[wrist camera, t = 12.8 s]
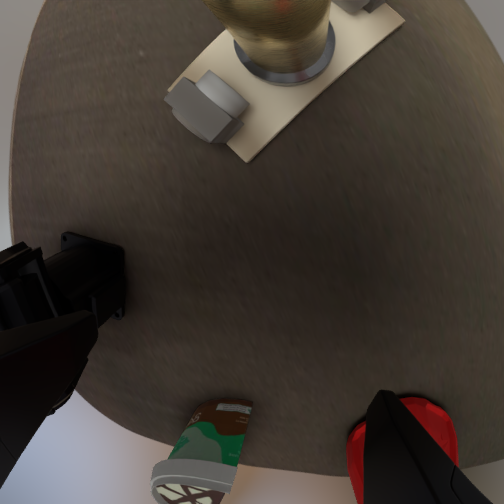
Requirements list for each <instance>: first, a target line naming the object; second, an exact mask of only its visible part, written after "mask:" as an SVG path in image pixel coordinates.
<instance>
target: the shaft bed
mask: <svg viewBox="0 0 504 504" xmlns="http://www.w3.org/2000/svg"><path fill="white" fill-rule="evenodd" d="M385 2H386V0H331V6H330V15H329V21H330V22H331V24H332V26H333V29H334V32H335V40H336V44H335V50H334V54H333V58H332V61H331V63H330V64H329V66H328V68H327V69H326V70H325V71H324V72H323V73H322V74H321V75H320V76H319V77H317V78H316V79H314V80H313V81H310V82H308V83H306V84H302V85H298V86H291V87H282V86H275V85H271V84H268V83H266V82H263V81H261V80H259V79H258V78H256V77H255V76H253V75H252V74H251V73H250V72H249V71H248V70H247V69H246V68H245V66H244V65H243V64H242V63H241V62H240V60H239V58H238V57H237V54H236V52H235V48H234V38H233V37H232V36H231V34H230V33H229V32H228V31H227V29H226V30H225V31H223V32H222V33H221V34H220V35H219V36H218V37H217V38H216V39H215V40H214V41H213V42H212V43H211V44H210V45H209V46H208V47H207V48H206V49H205V50H204V51H203V52H202V53H201V54H200V55H199V56H198V57H197V58H196V59H195V60H194V61H193V62H192V63H191V64H190V66H189V67H188V68H187V69H186V70H185V71H184V72H183V73H182V74H181V75H180V76H179V78H178V79H177V80H176V81H175V82H174V83H173V84H172V86H171V87H170V88H169V89H168V91H169V93H168V95H167V96H166V97H165V98H164V100H165V101H166V102H167V103H168V104H169V105H171V106H172V107H173V110H172V113H173V114H174V116H175V117H176V118H177V119H178V120H179V121H180V122H181V123H182V124H183V125H184V126H185V127H186V128H187V129H188V130H190V131H191V132H192V133H194V134H195V135H196V136H198V137H199V138H201V139H202V140H204V141H206V142H208V143H226V144H227V145H228V146H229V147H230V148H231V149H232V150H233V151H234V152H235V153H236V154H237V155H239V156H240V157H241V158H242V159H243V160H244V161H245V162H246V163H249V162H250V161H251V160H252V159H253V158H254V157H255V156H256V155H257V154H258V153H259V152H260V151H261V150H262V149H263V148H264V147H265V146H266V145H267V144H268V143H269V142H270V141H271V140H272V139H273V138H274V137H275V136H276V135H277V134H278V133H279V132H280V131H281V130H282V129H283V128H284V127H286V126H287V125H288V124H289V123H290V122H291V121H292V120H293V119H294V118H295V117H296V116H297V115H298V114H299V113H300V112H301V111H302V110H304V109H305V108H306V107H307V106H308V105H309V104H310V103H311V102H312V101H313V100H314V99H315V98H317V97H318V96H319V95H320V94H321V93H322V92H323V91H324V90H325V89H326V88H328V87H329V86H330V85H331V84H332V83H333V82H334V81H335V80H337V79H338V78H339V77H340V76H341V75H342V74H343V73H345V72H346V71H347V70H348V69H349V68H350V67H352V66H353V65H354V64H355V63H356V62H357V61H359V60H360V59H361V58H362V57H363V56H364V55H366V54H367V53H368V52H369V51H370V50H372V49H373V48H374V47H375V46H376V45H378V44H379V43H380V42H381V41H383V40H384V39H385V38H386V37H388V36H389V35H390V34H391V33H393V32H394V31H395V30H396V29H398V28H399V27H400V26H401V25H403V23H404V22H405V20H404V19H403V18H402V17H401V16H400V15H399V14H398V13H397V12H395V11H394V10H393V9H392V8H391V7H390V6H389V5H387V4H386V3H385Z"/></svg>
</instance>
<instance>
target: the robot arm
mask: <svg viewBox="0 0 504 504" xmlns="http://www.w3.org/2000/svg"><path fill="white" fill-rule="evenodd" d="M66 238H67V239H66ZM116 251H117V253H118V255H117V254H116ZM42 255H43V253H42V250H41V247H37V248H34V249H32V248H30V247H28V246H27V245H26V244H25V243H24V242H20V243H18V244H15V245H13V246H11V247H9V248H7V249H5V250H3V251H1V252H0V489H1V487H2V485H3V484H4V482H5V480H6V479H7V477H8V475H9V473H10V472H11V470H12V469H13V467H14V466H15V464H16V462H17V460H18V459H19V457H20V456H21V454H22V453H23V451H24V449H25V448H26V446H27V445H28V443H29V442H30V440H31V439H32V437H33V436H34V434H35V433H36V431H37V430H38V428H39V427H40V425H41V424H42V422H43V421H44V420H45V418H46V417H47V416H49V415H52V414H54V413H55V410H57V409H59V408H60V407H62V406H63V405H64V404H65V403H66V402H67V401H68V400H69V399H70V397H71V395H72V393H73V391H74V389H75V387H76V385H77V383H78V380H79V378H80V376H81V374H82V372H83V370H84V368H85V366H86V364H87V362H88V358H87V356H88V354H89V353H90V351H91V349H92V348H93V346H94V344H95V343H96V341H97V338H98V328H99V327H100V326H101V325H102V324H104V323H105V322H106V321H107V320H108V319H109V318H110V317H111V318H114V319H117V320H121V319H122V318H123V317H124V304H125V289H124V275H123V255H124V254H123V250H122V248H121V247H119V246H116V245H113V244H109V243H106V242H102V241H98V240H95V239H91V238H88V237H84V236H81V235H77V234H74V233H71V232H64V233H62V234H61V252H59V253H57V254H55V255H53V256H51V257H49V258H48V259H46V260H43V257H42ZM118 314H119V315H118ZM454 464H455V463H454V462H453V461H452V460H451V458H450V457H449V456H448V455H447V454H446V453H445V451H444V450H443V449H442V448H441V447H440V446H439V444H438V443H437V442H436V441H435V440H434V439H433V437H432V436H431V435H430V434H429V433H428V432H427V430H426V429H425V428H424V427H423V426H422V425H421V423H420V422H419V421H418V420H417V419H416V418H415V416H414V415H413V414H412V413H411V412H410V411H409V410H408V408H407V407H406V406H405V405H404V404H403V403H402V401H401V400H400V399H399V398H398V397H397V396H396V395H395V393H394V392H392V391H389V390H379V391H378V392H377V394H376V396H375V397H374V399H373V400H372V402H371V404H370V405H369V407H368V409H367V413H366V427H365V440H364V452H363V504H493V503H492V502H490V500H489V499H488V498H486V497H485V496H484V495H483V494H482V493H481V492H480V491H479V490H478V489H477V488H476V487H475V486H474V485H473V484H472V483H471V481H470V480H469V479H468V478H467V477H466V476H465V475H464V474H463V472H462V471H461V470H460V469H459V468H458V467H457V465H454Z"/></svg>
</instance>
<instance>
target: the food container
mask: <svg viewBox="0 0 504 504" xmlns="http://www.w3.org/2000/svg"><path fill="white" fill-rule="evenodd" d="M252 405H253V402H251V401H246V400H242V399H228V398H222V399H215V400H209V401H207V402H205V403H203V404H201V405H199V407H198V408H197V409H196V410H195V412H194V414H193V415H192V417H191V419H190V421H189V422H188V424H187V426H186V428H185V430H184V431H183V433H182V435H181V436H180V438H179V440H178V442H177V443H176V445H175V447H174V449H173V450H172V452H171V454H170V456H169V457H168V459H167V460H164V461H161V462H159V463H157V464H156V465H155V466H154V467H153V472H152V477H151V482H150V486H151V495H152V497H153V498H154V499H155V501H156V502H157V503H158V504H220V502H221V500H222V498H223V496H224V494H225V493H228V494H230V491H231V487H232V485H233V481H234V478H235V475H236V471H237V465H238V461H239V457H240V453H241V449H242V445H243V441H244V437H245V433H246V429H247V425H248V421H249V417H250V413H251V409H252Z"/></svg>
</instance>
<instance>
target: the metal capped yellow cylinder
mask: <svg viewBox="0 0 504 504" xmlns="http://www.w3.org/2000/svg"><path fill="white" fill-rule="evenodd" d="M202 1H203V2H204V3H205V4H206V6H207V7H208V8H209V9H210V10H211V11H212V13H213V14H214V15H215V16H216V17H217V18H218V20H219V21H220V22H221V23H222V24H223V26H224V27H225V28H226V29H227V31H228V32H229V33H230V34H231V36H232V37H233V38H234V48H235V52H236V54H237V57H238V58H239V60H240V62H241V63H242V64H243V65H244V66H245V68H246V69H247V70H248V71H249V72H250V73H251V74H252V75H253V76H255V77H256V78H258V79H259V80H261V81H263V82H266V83H268V84H271V85H275V86H282V87H291V86H298V85H302V84H306V83H308V82H310V81H313V80H314V79H316V78H317V77H319V76H320V75H321V74H322V73H323V72H324V71H325V70H326V69H327V68H328V66H329V64H330V63H331V61H332V58H333V54H334V50H335V44H336V40H335V32H334V29H333V26H332V24H331V22H330V21H329V15H330V6H331V0H202Z"/></svg>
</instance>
